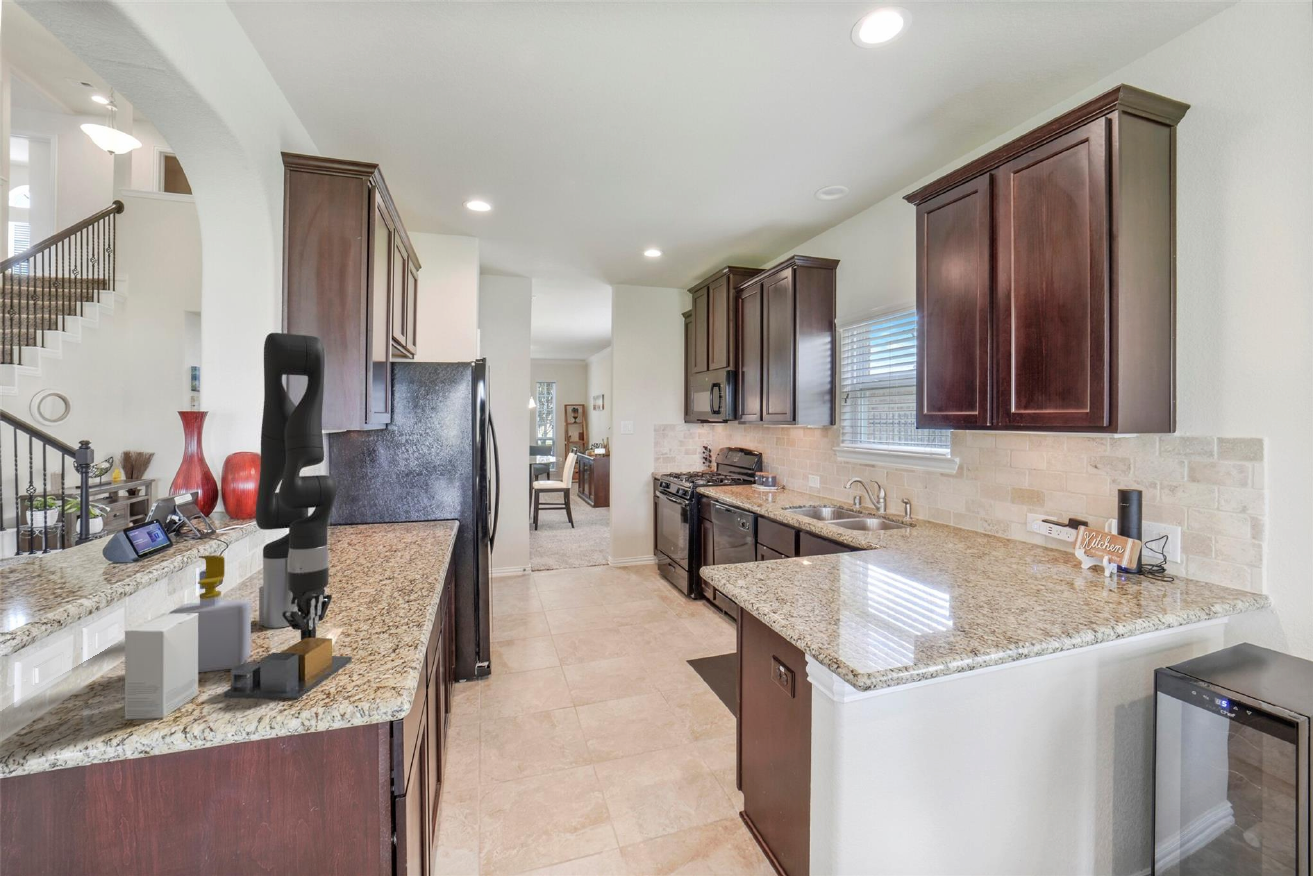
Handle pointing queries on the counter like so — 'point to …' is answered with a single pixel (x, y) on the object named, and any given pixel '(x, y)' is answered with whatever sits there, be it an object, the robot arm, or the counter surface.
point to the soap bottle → (220, 622)
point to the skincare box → (161, 665)
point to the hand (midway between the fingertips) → (308, 644)
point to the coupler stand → (278, 677)
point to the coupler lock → (312, 655)
